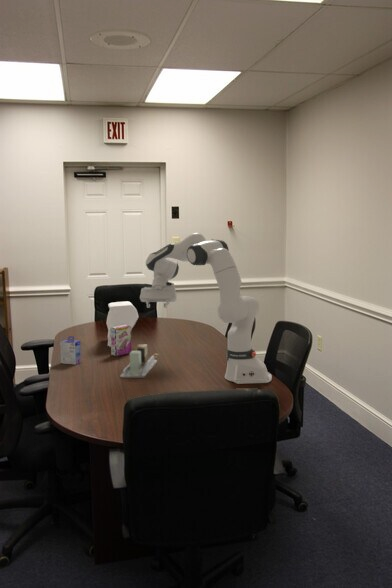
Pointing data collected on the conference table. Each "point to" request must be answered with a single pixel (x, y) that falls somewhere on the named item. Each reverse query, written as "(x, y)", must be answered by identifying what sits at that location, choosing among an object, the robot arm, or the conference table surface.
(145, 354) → the wooden block
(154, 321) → the conference table surface
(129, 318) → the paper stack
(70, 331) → the conference table surface
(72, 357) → the ink cartridge box
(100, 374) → the conference table surface
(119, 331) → the candy bar box
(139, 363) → the rail
